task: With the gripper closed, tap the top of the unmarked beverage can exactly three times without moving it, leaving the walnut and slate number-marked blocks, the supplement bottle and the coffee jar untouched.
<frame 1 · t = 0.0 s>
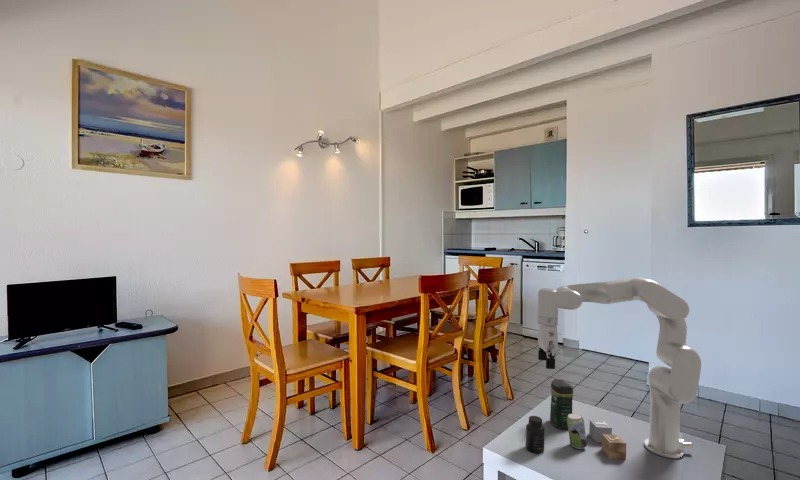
hand: (546, 364, 150), 31 cm above the table, fingers open, 9 cm apart
supplement bottle: (534, 450, 146), on the table
coffee jar: (560, 424, 166), on the table
beverage can: (576, 446, 149), on the table
walnut digit block: (613, 454, 144), on the table
slate digit block: (600, 438, 155), on the table
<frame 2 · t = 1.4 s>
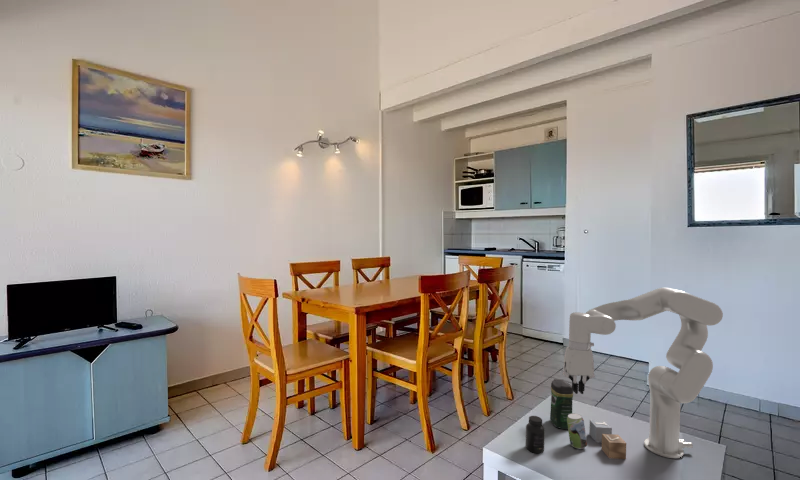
hand: (578, 392, 149), 21 cm above the table, fingers closed
nothing on the table moved.
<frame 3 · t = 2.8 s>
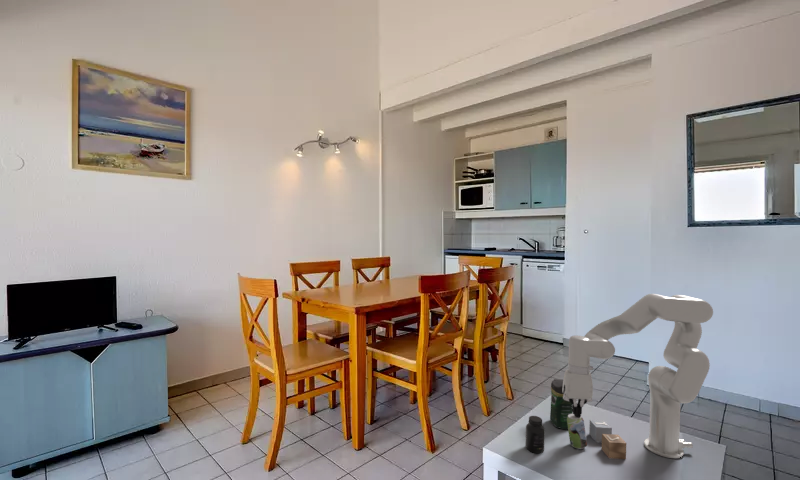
hand: (576, 415, 149), 12 cm above the table, fingers closed
beverage can: (576, 446, 149), on the table, touching gripper
everything else where it was.
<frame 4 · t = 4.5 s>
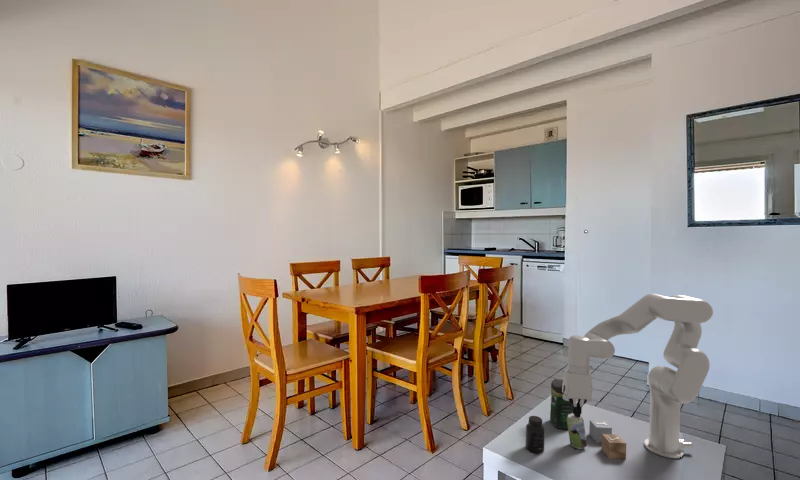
hand: (576, 415, 149), 12 cm above the table, fingers closed
nothing on the table moved.
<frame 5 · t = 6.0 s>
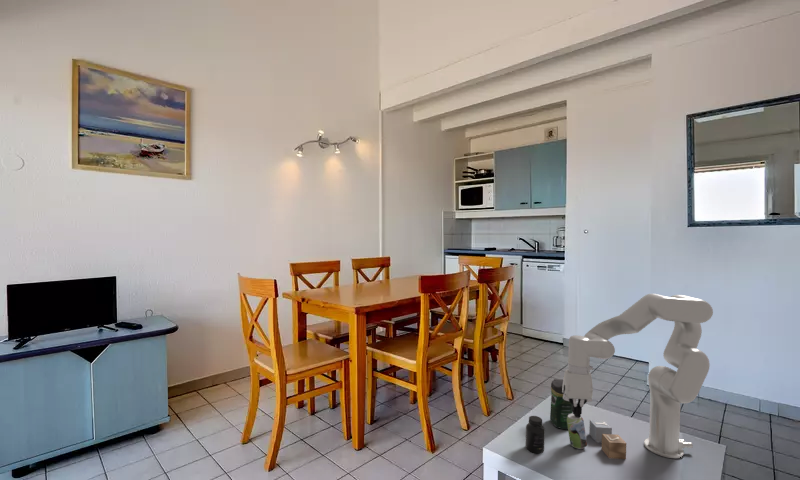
hand: (576, 415, 149), 12 cm above the table, fingers closed
nothing on the table moved.
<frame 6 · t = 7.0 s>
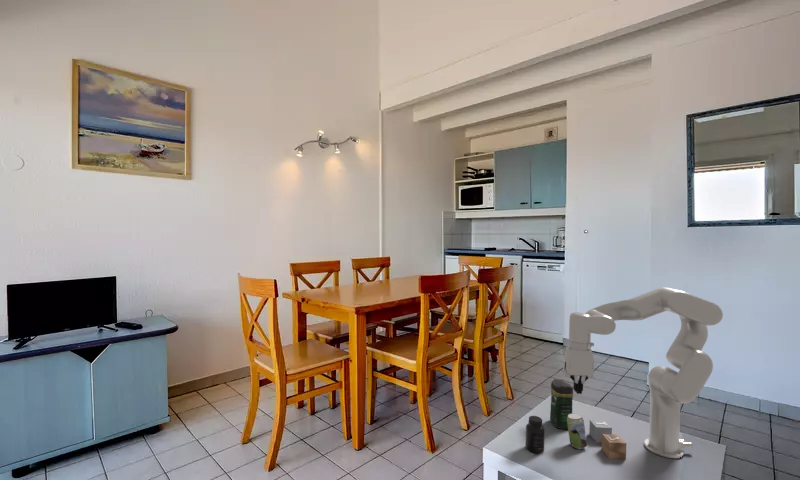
hand: (578, 392, 149), 21 cm above the table, fingers closed
beverage can: (576, 446, 149), on the table
everything else where it was.
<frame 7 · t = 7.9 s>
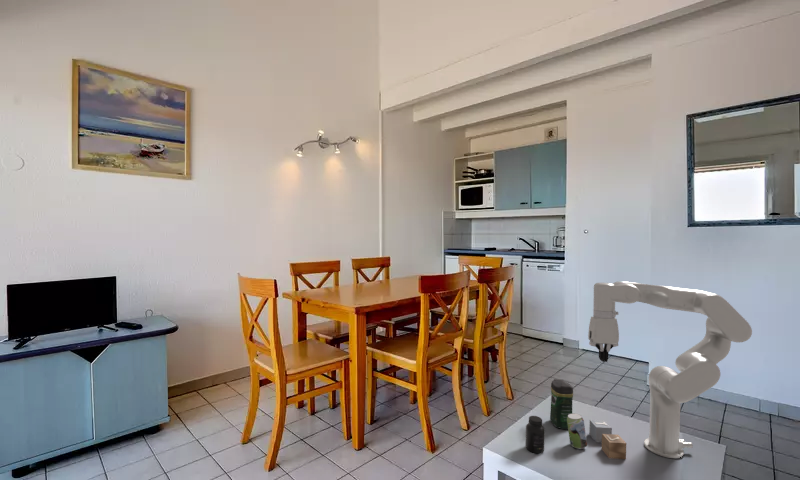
hand: (603, 360, 152), 33 cm above the table, fingers closed
nothing on the table moved.
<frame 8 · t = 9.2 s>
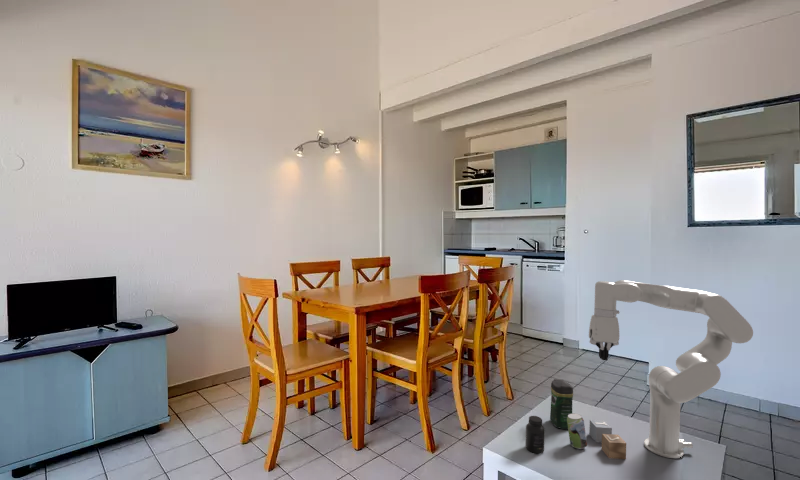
hand: (603, 359, 152), 33 cm above the table, fingers closed
nothing on the table moved.
at the end: beverage can moved 0.2 cm from its start; beverage can tilted 0°; the gripper is holding nothing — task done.
